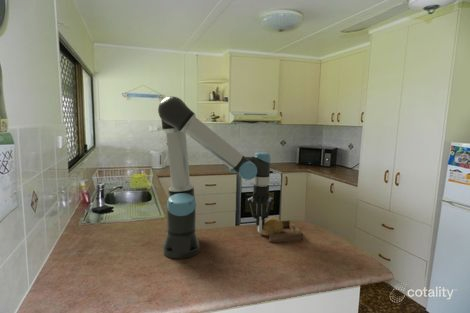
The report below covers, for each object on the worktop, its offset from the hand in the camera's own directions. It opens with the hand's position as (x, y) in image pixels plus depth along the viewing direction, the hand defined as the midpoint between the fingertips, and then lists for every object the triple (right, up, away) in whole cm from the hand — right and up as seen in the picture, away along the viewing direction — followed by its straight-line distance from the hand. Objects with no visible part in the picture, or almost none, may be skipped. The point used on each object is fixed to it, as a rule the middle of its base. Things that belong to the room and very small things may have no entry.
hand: (259, 231), depth 139 cm
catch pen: (+11, -2, +2) cm, 11 cm away
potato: (+7, -2, +1) cm, 7 cm away
